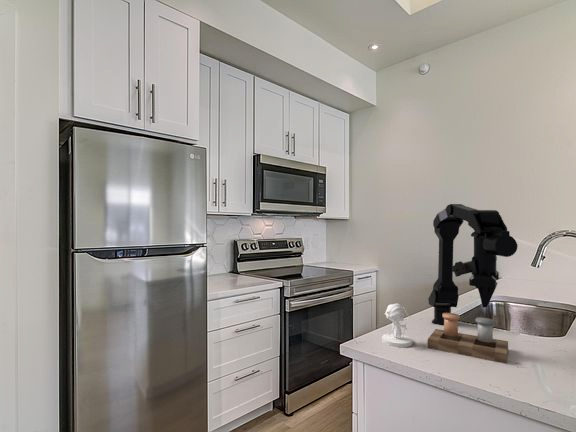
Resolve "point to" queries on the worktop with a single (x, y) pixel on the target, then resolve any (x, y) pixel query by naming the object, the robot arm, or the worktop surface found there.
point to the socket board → (469, 346)
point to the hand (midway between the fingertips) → (484, 307)
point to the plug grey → (485, 329)
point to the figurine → (396, 327)
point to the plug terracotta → (451, 324)
